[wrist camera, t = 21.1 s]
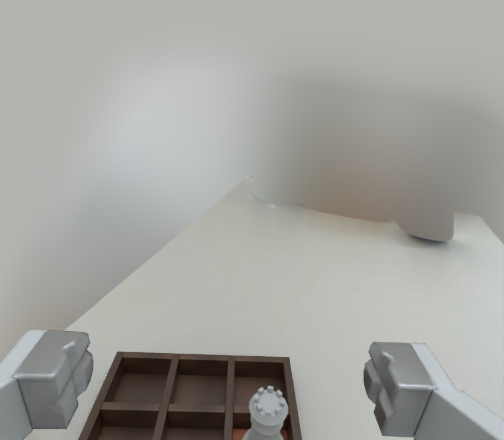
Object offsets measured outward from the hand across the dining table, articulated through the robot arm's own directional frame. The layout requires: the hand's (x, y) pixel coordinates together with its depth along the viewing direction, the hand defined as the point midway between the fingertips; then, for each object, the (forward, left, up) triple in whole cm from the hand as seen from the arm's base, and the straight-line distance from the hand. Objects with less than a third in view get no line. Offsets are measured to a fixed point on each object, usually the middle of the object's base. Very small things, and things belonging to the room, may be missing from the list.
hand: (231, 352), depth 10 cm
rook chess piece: (+3, +12, -25) cm, 28 cm away
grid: (-3, +15, -26) cm, 30 cm away
